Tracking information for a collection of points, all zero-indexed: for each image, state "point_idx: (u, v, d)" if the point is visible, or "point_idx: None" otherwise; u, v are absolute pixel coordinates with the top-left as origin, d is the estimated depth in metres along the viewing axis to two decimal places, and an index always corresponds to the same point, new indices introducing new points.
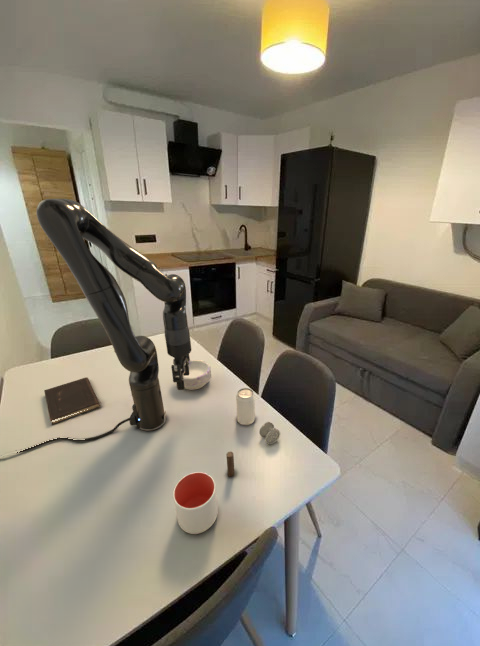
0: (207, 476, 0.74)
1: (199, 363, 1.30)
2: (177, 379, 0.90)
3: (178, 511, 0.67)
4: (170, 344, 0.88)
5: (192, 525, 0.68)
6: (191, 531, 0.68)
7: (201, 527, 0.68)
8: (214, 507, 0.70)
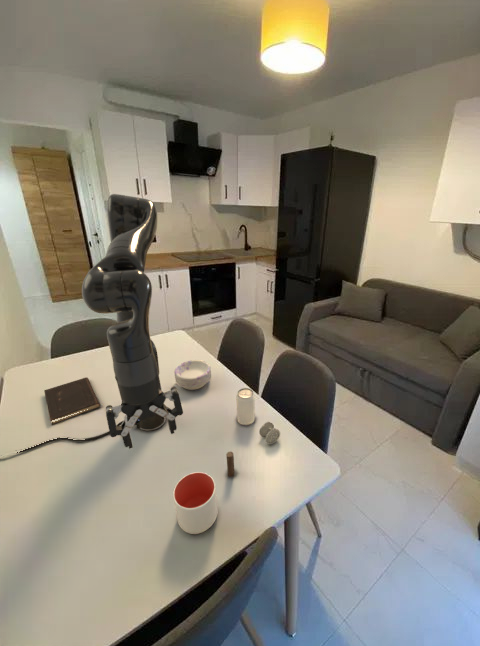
0: (207, 476, 0.74)
1: (199, 363, 1.30)
2: None
3: (178, 511, 0.67)
4: None
5: (192, 525, 0.68)
6: (191, 531, 0.68)
7: (201, 527, 0.68)
8: (214, 507, 0.70)
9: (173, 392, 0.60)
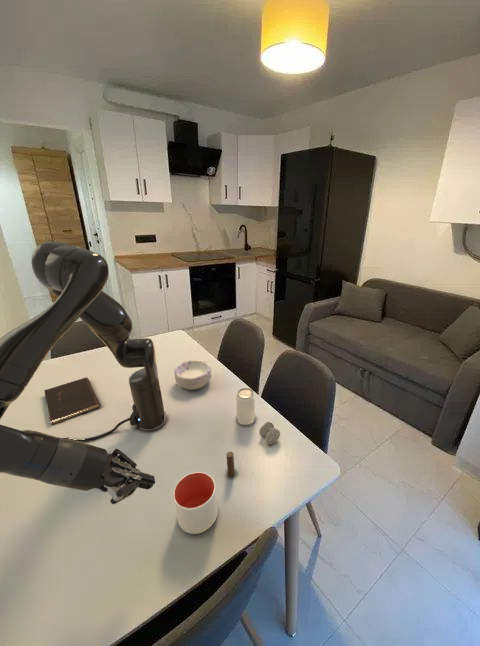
0: (207, 476, 0.74)
1: (199, 363, 1.30)
2: None
3: (178, 511, 0.67)
4: None
5: (192, 525, 0.68)
6: (191, 531, 0.68)
7: (201, 527, 0.68)
8: (214, 507, 0.70)
9: (112, 499, 0.53)
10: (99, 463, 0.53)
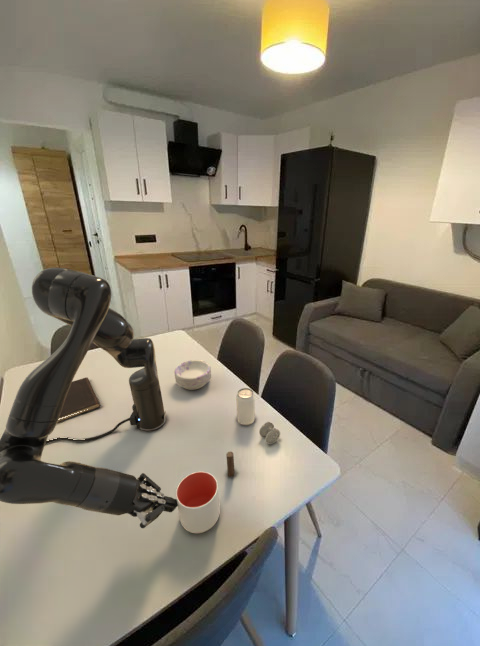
0: (209, 475, 0.74)
1: (199, 363, 1.30)
2: None
3: (181, 511, 0.67)
4: None
5: (195, 524, 0.68)
6: (195, 530, 0.68)
7: (204, 526, 0.69)
8: (217, 505, 0.70)
9: (141, 523, 0.59)
10: (130, 491, 0.59)
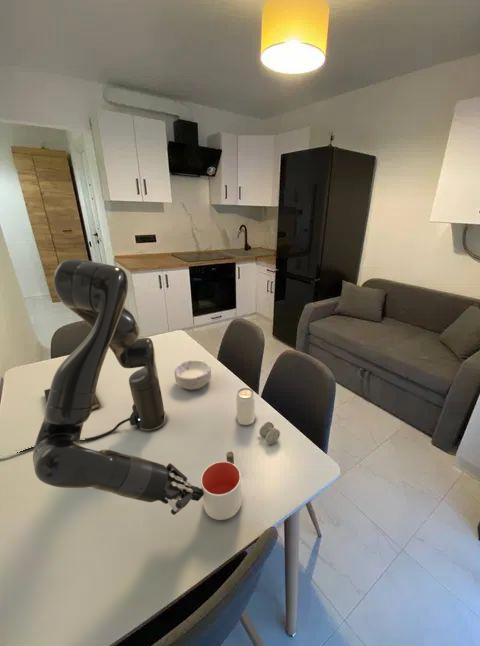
0: (229, 464, 0.77)
1: (199, 363, 1.30)
2: None
3: (209, 500, 0.70)
4: None
5: (223, 511, 0.71)
6: (222, 517, 0.71)
7: (231, 511, 0.72)
8: (240, 491, 0.74)
9: (172, 510, 0.61)
10: (162, 478, 0.61)
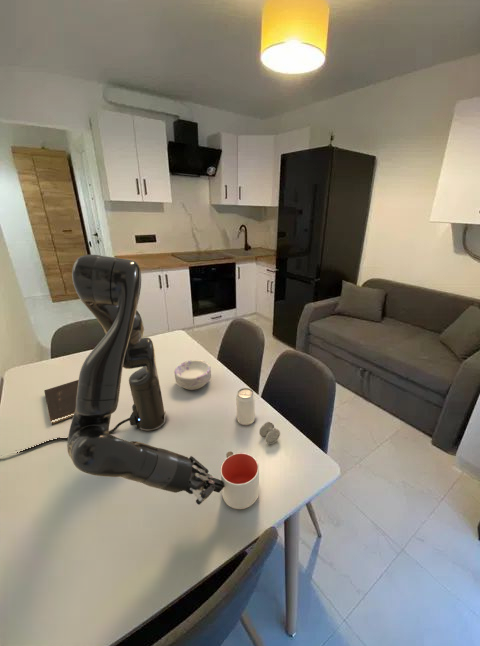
0: (244, 455, 0.80)
1: (199, 363, 1.30)
2: None
3: (231, 490, 0.72)
4: None
5: (245, 500, 0.73)
6: (244, 505, 0.74)
7: (252, 499, 0.75)
8: None
9: (197, 500, 0.63)
10: (187, 469, 0.63)
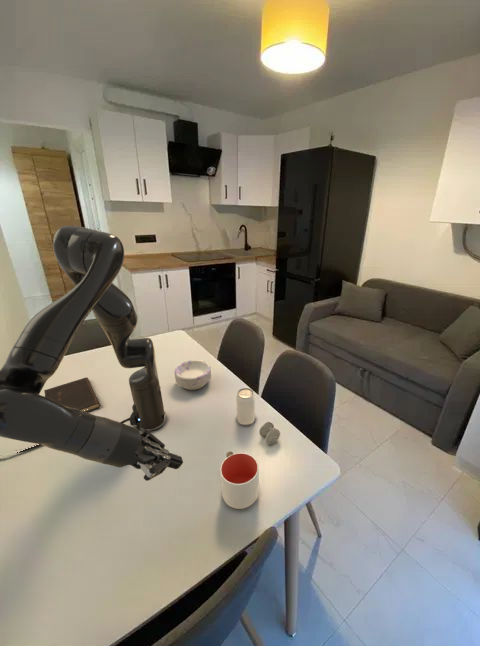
0: (244, 455, 0.80)
1: (199, 363, 1.30)
2: None
3: (231, 490, 0.72)
4: None
5: (244, 499, 0.73)
6: (243, 505, 0.74)
7: (251, 499, 0.75)
8: (258, 479, 0.77)
9: (145, 475, 0.55)
10: (133, 441, 0.55)
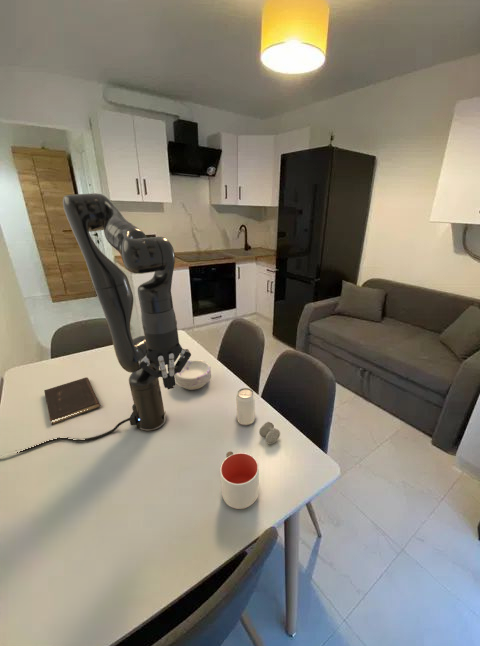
0: (244, 455, 0.80)
1: (199, 363, 1.30)
2: None
3: (231, 490, 0.72)
4: None
5: (244, 499, 0.73)
6: (243, 505, 0.74)
7: (251, 499, 0.75)
8: (258, 479, 0.77)
9: (188, 352, 0.73)
10: None
